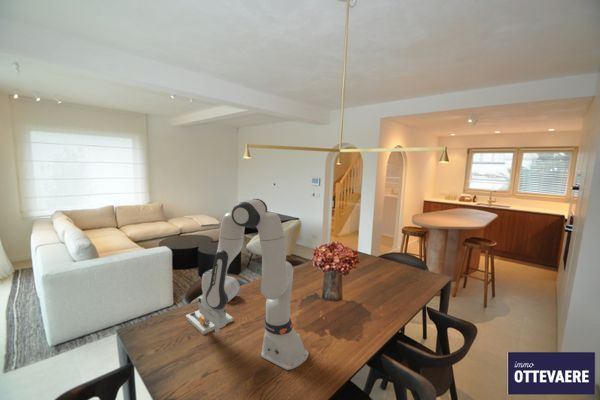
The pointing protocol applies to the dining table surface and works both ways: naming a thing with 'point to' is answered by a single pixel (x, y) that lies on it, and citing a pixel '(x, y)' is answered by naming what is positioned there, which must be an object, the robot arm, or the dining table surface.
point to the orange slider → (202, 320)
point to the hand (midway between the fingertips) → (212, 328)
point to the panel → (194, 320)
